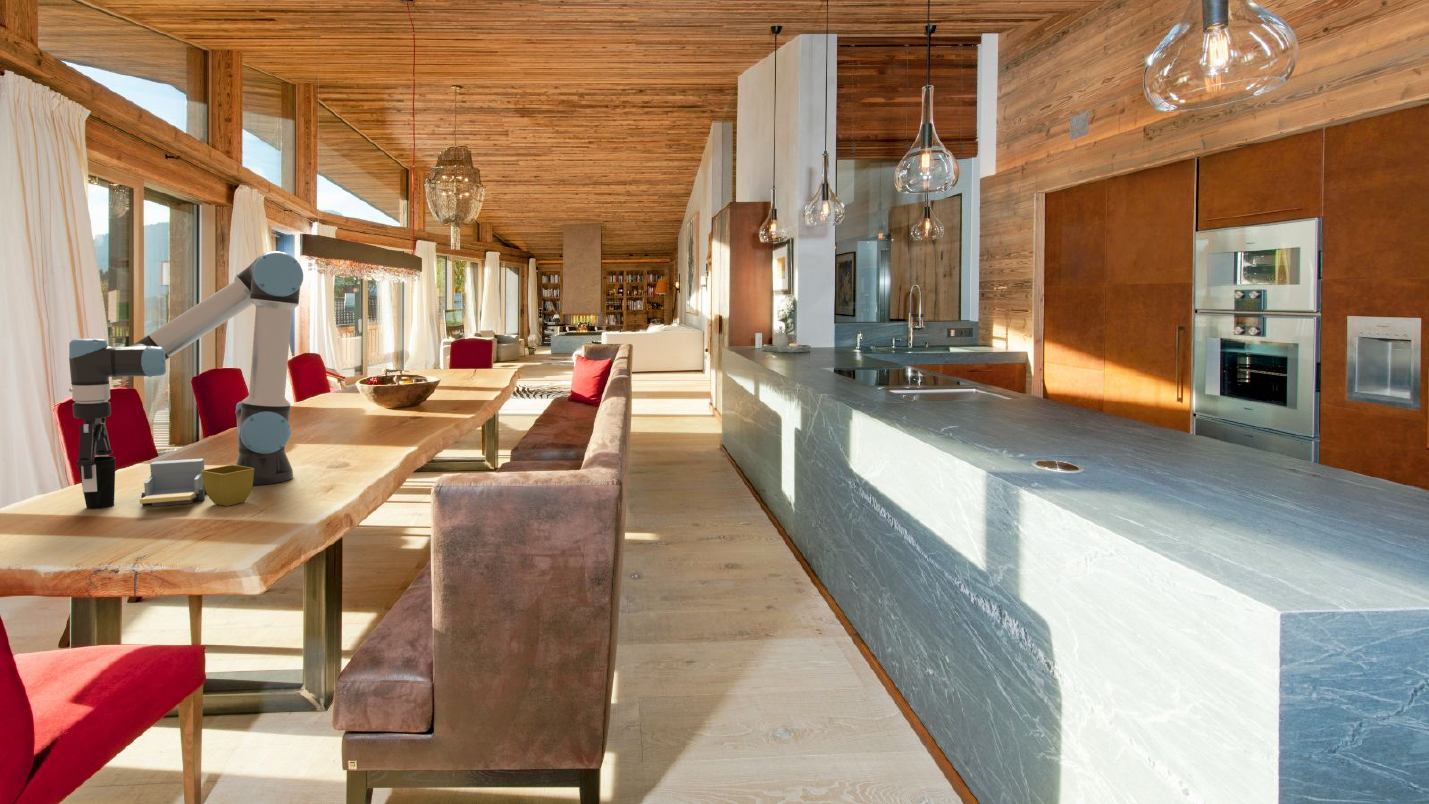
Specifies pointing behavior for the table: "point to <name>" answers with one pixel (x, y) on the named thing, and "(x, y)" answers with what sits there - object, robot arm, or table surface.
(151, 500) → the panel
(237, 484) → the flower pot
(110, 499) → the cup
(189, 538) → the table surface
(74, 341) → the robot arm
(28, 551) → the table surface
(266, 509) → the table surface
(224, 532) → the table surface
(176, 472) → the truck
